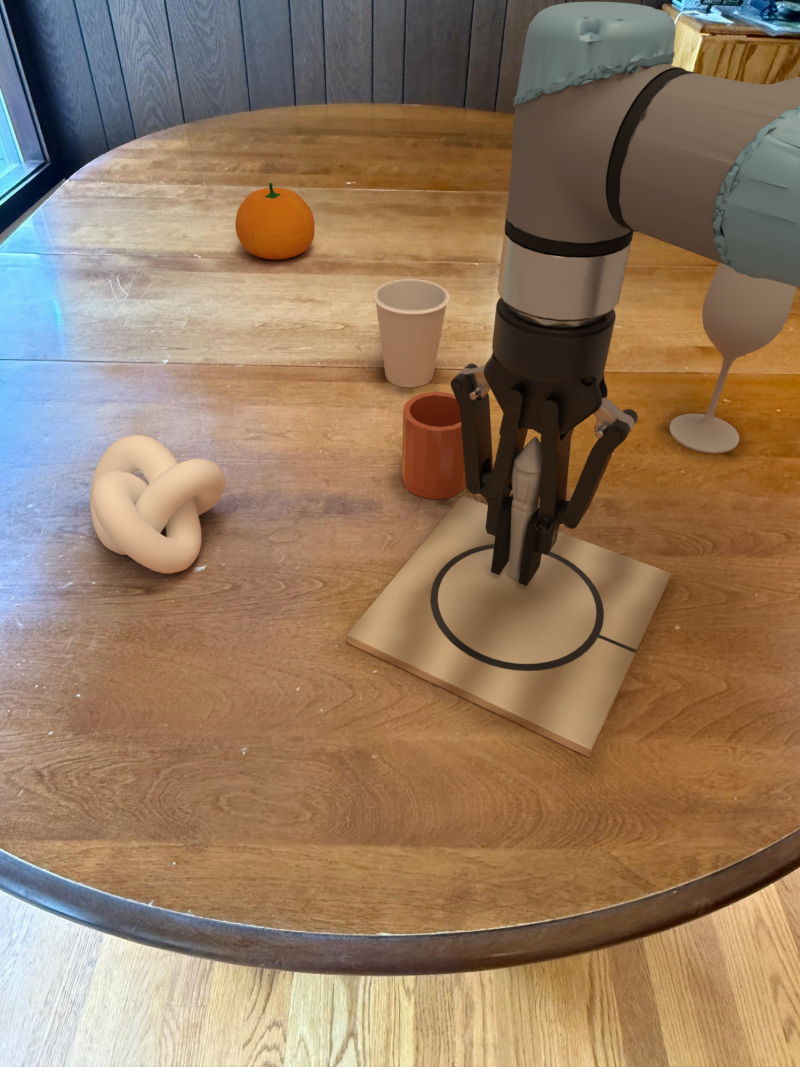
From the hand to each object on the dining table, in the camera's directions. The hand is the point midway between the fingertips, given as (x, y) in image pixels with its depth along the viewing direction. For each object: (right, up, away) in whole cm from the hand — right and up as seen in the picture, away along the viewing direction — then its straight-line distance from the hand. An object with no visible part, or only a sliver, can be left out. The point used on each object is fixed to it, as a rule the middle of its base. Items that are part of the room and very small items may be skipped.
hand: (515, 568), depth 64 cm
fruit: (-28, +46, +53) cm, 76 cm away
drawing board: (0, -3, -1) cm, 3 cm away
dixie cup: (-9, +22, +27) cm, 36 cm away
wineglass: (+23, +14, +19) cm, 33 cm away
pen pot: (-6, +8, +12) cm, 16 cm away
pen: (0, -1, +1) cm, 1 cm away
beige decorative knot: (-30, +2, +5) cm, 31 cm away
